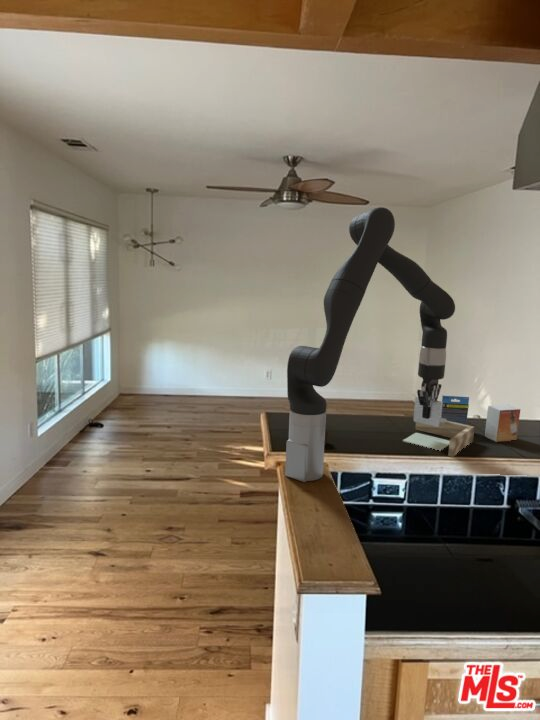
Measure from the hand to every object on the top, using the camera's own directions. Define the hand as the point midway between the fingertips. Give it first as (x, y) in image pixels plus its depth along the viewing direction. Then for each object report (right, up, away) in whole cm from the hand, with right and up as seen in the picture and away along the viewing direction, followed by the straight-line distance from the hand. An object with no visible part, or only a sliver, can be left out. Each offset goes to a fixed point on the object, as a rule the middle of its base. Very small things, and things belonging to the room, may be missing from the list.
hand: (427, 417), depth 154 cm
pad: (+1, -8, +3) cm, 9 cm away
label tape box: (+13, -6, +16) cm, 21 cm away
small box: (+26, -8, +9) cm, 29 cm away
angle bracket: (+1, -2, +2) cm, 3 cm away
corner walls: (+3, -8, +4) cm, 9 cm away
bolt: (-34, -7, +6) cm, 35 cm away
